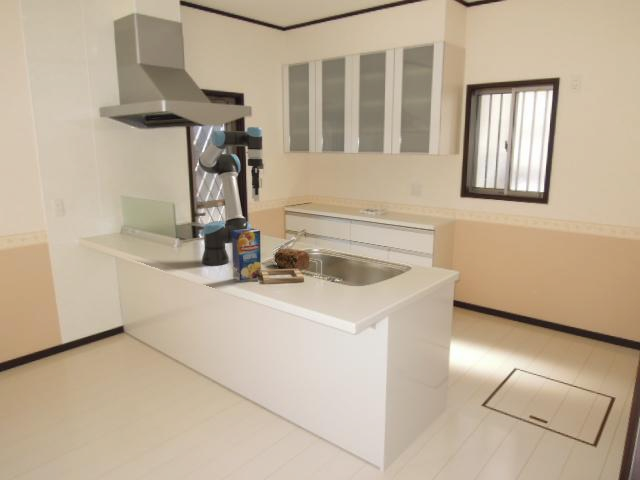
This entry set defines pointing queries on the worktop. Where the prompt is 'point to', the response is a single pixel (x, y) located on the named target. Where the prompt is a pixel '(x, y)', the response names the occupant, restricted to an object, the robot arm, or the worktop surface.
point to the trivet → (247, 280)
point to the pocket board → (296, 272)
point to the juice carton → (246, 254)
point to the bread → (292, 259)
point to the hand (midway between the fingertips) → (255, 199)
